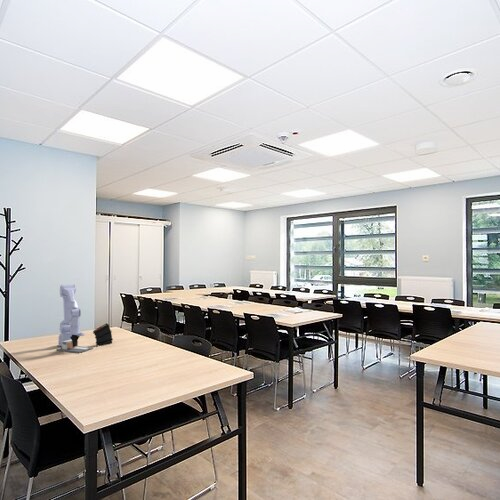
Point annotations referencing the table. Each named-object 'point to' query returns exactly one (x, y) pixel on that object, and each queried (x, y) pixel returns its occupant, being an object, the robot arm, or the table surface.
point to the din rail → (75, 349)
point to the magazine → (103, 335)
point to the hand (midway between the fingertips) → (74, 346)
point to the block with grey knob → (71, 345)
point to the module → (65, 344)
